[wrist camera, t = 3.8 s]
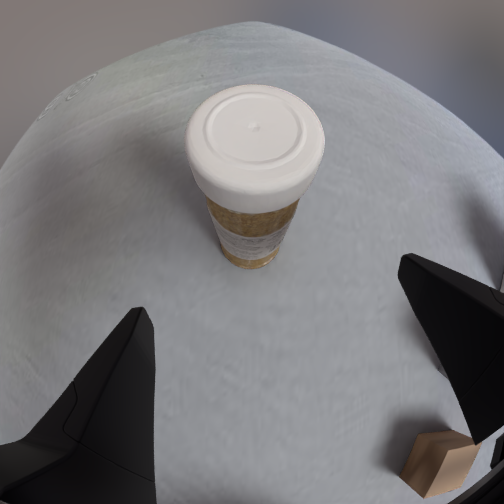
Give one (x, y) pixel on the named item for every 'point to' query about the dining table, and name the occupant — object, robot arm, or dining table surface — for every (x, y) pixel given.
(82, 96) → the dining table surface
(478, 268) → the dining table surface
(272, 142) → the sprinkles bottle
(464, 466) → the walnut cube
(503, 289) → the small box
